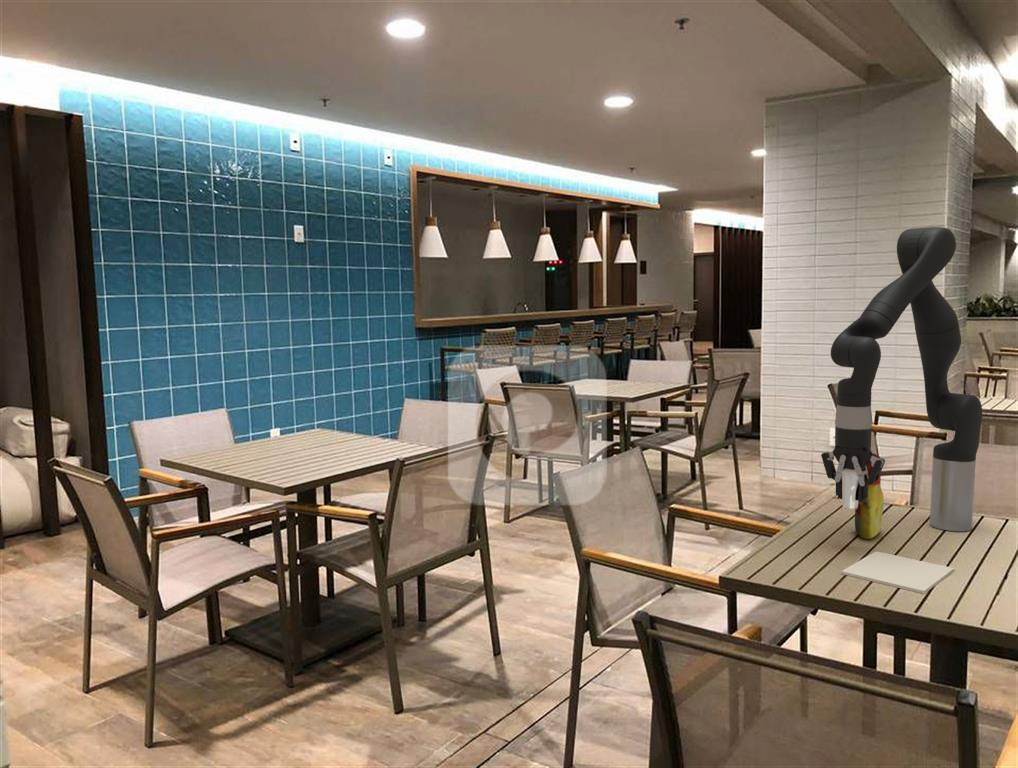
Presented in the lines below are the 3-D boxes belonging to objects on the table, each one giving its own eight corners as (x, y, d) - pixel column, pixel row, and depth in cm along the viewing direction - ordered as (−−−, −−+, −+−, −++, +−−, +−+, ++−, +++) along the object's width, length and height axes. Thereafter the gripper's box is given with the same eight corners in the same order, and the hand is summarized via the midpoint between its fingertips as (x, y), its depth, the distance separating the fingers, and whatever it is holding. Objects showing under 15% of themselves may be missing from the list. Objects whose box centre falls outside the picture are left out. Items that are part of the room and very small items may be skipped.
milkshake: (867, 510, 179) (869, 467, 177) (841, 509, 180) (843, 466, 179) (862, 504, 183) (864, 462, 182) (837, 503, 184) (839, 461, 183)
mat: (875, 553, 178) (875, 551, 178) (954, 570, 167) (954, 568, 167) (841, 573, 166) (841, 571, 166) (923, 593, 154) (924, 590, 154)
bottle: (879, 543, 186) (882, 458, 183) (849, 539, 189) (852, 456, 187) (884, 530, 196) (887, 450, 194) (856, 526, 199) (859, 447, 197)
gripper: (892, 426, 177) (890, 501, 179) (829, 419, 187) (827, 491, 189) (879, 430, 172) (876, 508, 174) (815, 424, 182) (813, 497, 184)
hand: (851, 499), depth 182 cm, fingers closed on milkshake, 4 cm apart
